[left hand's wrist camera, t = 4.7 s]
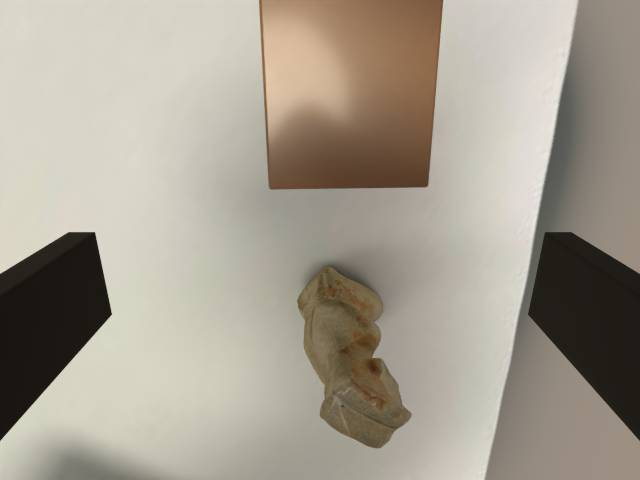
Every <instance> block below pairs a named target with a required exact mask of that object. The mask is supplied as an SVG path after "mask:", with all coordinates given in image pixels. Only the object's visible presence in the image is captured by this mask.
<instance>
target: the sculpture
mask: <svg viewBox="0 0 640 480" xmlns="http://www.w3.org/2000/svg"><path fill="white" fill-rule="evenodd" d="M297 303H298V308H299V310H300V312H301V314H302V316H303V318H304V319H305V330H304V349H305V352H306V354H307V356H308V358H309V360H310V362H311V364H312V366H313V368H314V370H315V371H316V373H317V375H318V376H319V378H320V380H321V381H322V382H323V383H324V384H325V400H324V401H323V403H322V406H321V409H320V417H321V418H322V419H324V420H325V421H326V422H327V423H328V424H329V425H330V426H331V427H333V428H334V429H335V430H337V431H338V432H340V433H342V434H344V435H346V436H348V437H351V438H353V439H355V440H357V441H359V442H361V443H363V444H364V445H366V446H369V447H373V448H381V447H382V446H383V445H385V444H386V443H387V442H388V441H389V440H390V438H391V436H392V434H393V433H394V431H395V430H396V429H398V428H399V427H401V426H403V425H404V424H405V423H406V422H407V421H409V419H410V418H411V413H410V412H409V411H408V410H407V409H406V408H405V407H404V406H403V405H402V400H401V396H400V393H399V388H398V384H397V382H396V381H395V379H394V378H393V377H392V376H391V374H390V373H389V371H388V369H387V367H386V365H385V363H384V361H383V360H382V359H380V358H372V356H373V353H374V351H375V350H376V348H377V347H378V345H379V342H380V339H381V333H380V330H379V328H378V326H377V325H376V324H375V323H374V321H375V320H377V319H378V318H379V317H380V316H381V314H382V312H383V303H382V301H381V299H380V298H379V297H378V296H377V295H376V294H375V293H374V292H373V291H372V290H370V289H369V288H367V287H365V286H363V285H361V284H359V283H357V282H355V281H353V280H351V279H348V278H346V277H344V276H342V275H341V274H339V273H338V272H336V270H335V269H333V268H331V267H328V266H326V267H324V268H323V269H322V270H321V271H320V272H319V273H318V274H317V275H316V276H315V277H314V278H313V279H312V280H311V281H310V283H309V284H308V285H307V286H306V287H305V288H304V290H303V291H302V293H301V294H300V296H299V298H298V300H297Z"/></svg>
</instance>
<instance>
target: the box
mask: <svg viewBox="0 0 640 480" xmlns="http://www.w3.org/2000/svg"><path fill="white" fill-rule="evenodd" d="M259 8H260V27H261V46H262V65H263V85H264V104H265V123H266V142H267V161H268V180H269V188H270V189H336V188H412V187H427V186H428V181H429V169H430V156H431V144H432V132H433V119H434V107H435V94H436V82H437V70H438V57H439V45H440V33H441V20H442V8H443V0H259Z"/></svg>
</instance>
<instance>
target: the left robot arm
mask: <svg viewBox="0 0 640 480" xmlns="http://www.w3.org/2000/svg"><path fill="white" fill-rule="evenodd" d="M111 315H112V313H111V308H110V303H109V298H108V293H107V288H106V284H105V279H104V274H103V269H102V264H101V259H100V254H99V250H98V245H97V240H96V235H95V232H68V233H67V234H65V235H63V236H62V237H60V238H59V239H57V240H55V241H54V242H52V243H50V244H49V245H47V246H45V247H44V248H42V249H40V250H39V251H37V252H36V253H34V254H32V255H31V256H29V257H27V258H26V259H24V260H22V261H21V262H19V263H17V264H16V265H14V266H13V267H11V268H9V269H8V270H6V271H4V272H3V273H1V274H0V440H1V439H2V438H3V437H4V436H5V435H6V434H7V433H8V431H9V430H10V429H11V428H12V427H13V426H14V425H15V423H16V422H17V421H18V420H19V419H20V418H21V417H22V416H23V414H24V413H25V412H26V411H27V410H28V409H29V408H30V407H31V405H32V404H33V403H34V402H35V401H36V400H37V399H38V397H39V396H40V395H41V394H42V393H43V392H44V391H45V390H46V388H47V387H48V386H49V385H50V384H51V383H52V382H53V381H54V379H55V378H56V377H57V376H58V375H59V374H60V373H61V371H62V370H63V369H64V368H65V367H66V366H67V365H68V364H69V362H70V361H71V360H72V359H73V358H74V357H75V356H76V354H77V353H78V352H79V351H80V350H81V349H82V348H83V347H84V345H85V344H86V343H87V342H88V341H89V340H90V339H91V338H92V336H93V335H94V334H95V333H96V332H97V331H98V330H99V328H100V327H101V326H102V325H103V324H104V323H105V322H106V321H107V319H108V318H109V317H110V316H111ZM528 315H529V316H530V317H531V318H532V319H533V321H534V322H535V323H536V324H537V325H538V326H539V327H540V328H541V330H542V331H543V332H544V333H545V334H546V335H547V336H548V338H549V339H550V340H551V341H552V342H553V343H554V344H555V345H556V347H557V348H558V349H559V350H560V351H561V352H562V353H563V355H564V356H565V357H566V358H567V359H568V360H569V361H570V362H571V363H572V365H573V366H574V367H575V368H576V369H577V370H578V371H579V373H580V374H581V375H582V376H583V377H584V378H585V379H586V381H587V382H588V383H589V384H590V385H591V386H592V387H593V388H594V390H595V391H596V392H597V393H598V394H599V395H600V396H601V397H602V399H603V400H604V401H605V402H606V403H607V404H608V405H609V406H610V408H611V409H612V410H613V411H614V412H615V413H616V414H617V416H618V417H619V418H620V419H621V420H622V421H623V422H624V423H625V425H626V426H627V427H628V428H629V429H630V430H631V431H632V432H633V434H634V435H635V436H636V437H637V438H638V439H639V440H640V274H639V273H637V272H636V271H634V270H632V269H631V268H629V267H627V266H626V265H624V264H622V263H621V262H619V261H618V260H616V259H614V258H613V257H611V256H609V255H608V254H606V253H604V252H603V251H601V250H600V249H598V248H596V247H595V246H593V245H591V244H590V243H588V242H586V241H585V240H583V239H581V238H580V237H578V236H577V235H575V234H573V233H572V232H545V235H544V240H543V245H542V250H541V254H540V259H539V264H538V269H537V274H536V279H535V284H534V288H533V293H532V298H531V303H530V308H529V313H528Z"/></svg>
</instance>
